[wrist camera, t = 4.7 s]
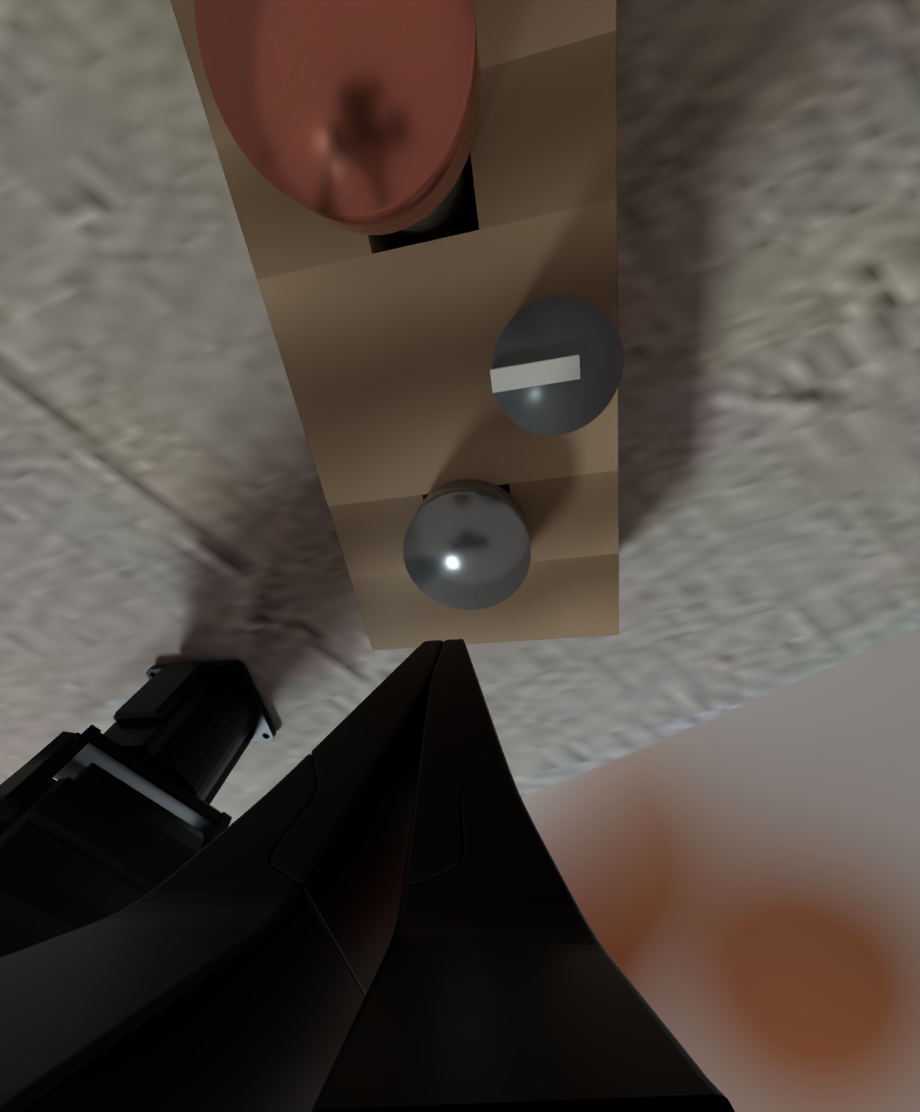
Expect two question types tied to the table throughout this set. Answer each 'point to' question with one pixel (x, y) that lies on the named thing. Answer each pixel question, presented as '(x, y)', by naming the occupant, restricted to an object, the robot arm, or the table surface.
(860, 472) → the table surface
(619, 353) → the dial
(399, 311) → the mount
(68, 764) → the robot arm
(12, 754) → the table surface
